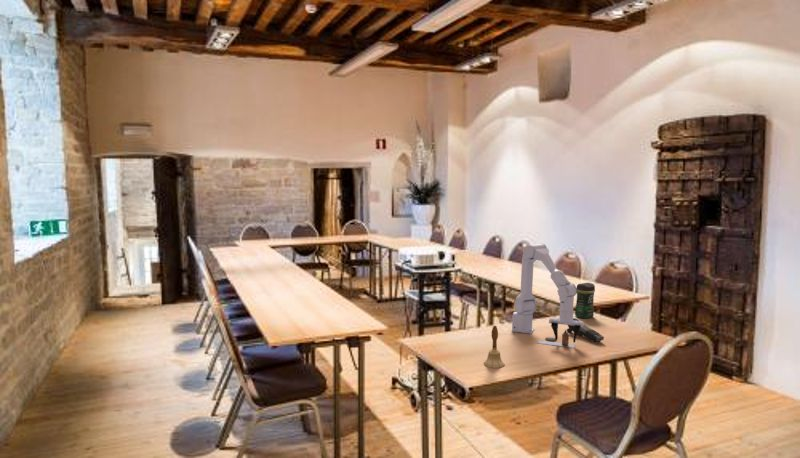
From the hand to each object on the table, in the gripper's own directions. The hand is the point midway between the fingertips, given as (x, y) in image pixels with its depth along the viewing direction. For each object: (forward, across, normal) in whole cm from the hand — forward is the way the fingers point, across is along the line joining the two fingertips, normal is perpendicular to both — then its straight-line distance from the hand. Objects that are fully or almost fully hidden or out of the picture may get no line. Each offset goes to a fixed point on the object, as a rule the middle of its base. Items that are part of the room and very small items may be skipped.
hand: (565, 340), depth 236 cm
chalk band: (+2, -4, 0) cm, 5 cm away
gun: (+3, +6, +16) cm, 18 cm away
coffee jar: (+2, +3, +55) cm, 55 cm away
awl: (+2, 0, 0) cm, 2 cm away
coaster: (+2, -7, +6) cm, 10 cm away
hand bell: (+3, -23, -37) cm, 44 cm away
